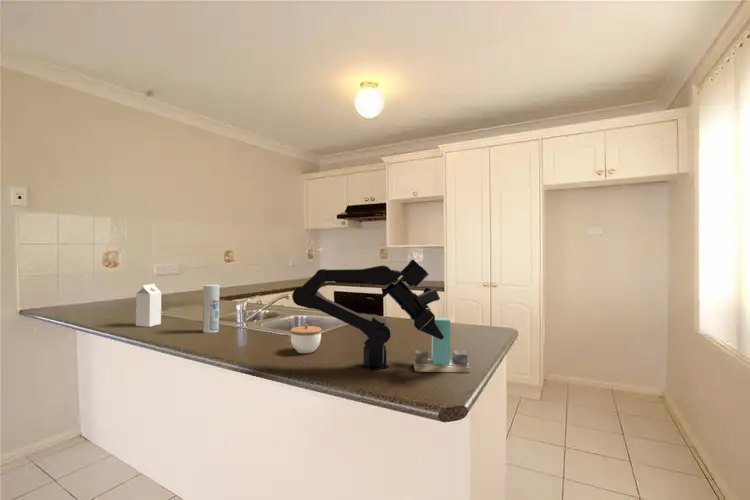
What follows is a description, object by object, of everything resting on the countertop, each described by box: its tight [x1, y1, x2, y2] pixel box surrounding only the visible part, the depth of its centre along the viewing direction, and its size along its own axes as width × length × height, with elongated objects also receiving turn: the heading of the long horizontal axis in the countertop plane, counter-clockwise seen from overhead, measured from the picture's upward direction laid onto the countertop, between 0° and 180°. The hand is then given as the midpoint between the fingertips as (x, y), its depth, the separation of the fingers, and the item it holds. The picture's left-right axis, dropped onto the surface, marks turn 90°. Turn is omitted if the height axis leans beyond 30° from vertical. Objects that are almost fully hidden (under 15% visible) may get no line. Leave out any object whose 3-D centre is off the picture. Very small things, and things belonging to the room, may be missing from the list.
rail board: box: [412, 348, 471, 374], centre depth 112 cm, size 16×7×5 cm, turn 87°
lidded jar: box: [290, 323, 322, 354], centre depth 130 cm, size 11×11×9 cm
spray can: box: [202, 284, 221, 334], centre depth 160 cm, size 6×6×20 cm
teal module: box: [431, 317, 451, 364], centre depth 112 cm, size 5×4×13 cm
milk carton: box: [135, 283, 162, 328], centre depth 171 cm, size 7×7×19 cm
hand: (440, 335), depth 112 cm, fingers open, 9 cm apart
